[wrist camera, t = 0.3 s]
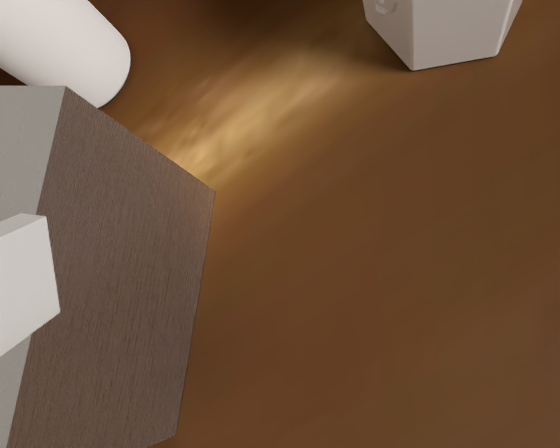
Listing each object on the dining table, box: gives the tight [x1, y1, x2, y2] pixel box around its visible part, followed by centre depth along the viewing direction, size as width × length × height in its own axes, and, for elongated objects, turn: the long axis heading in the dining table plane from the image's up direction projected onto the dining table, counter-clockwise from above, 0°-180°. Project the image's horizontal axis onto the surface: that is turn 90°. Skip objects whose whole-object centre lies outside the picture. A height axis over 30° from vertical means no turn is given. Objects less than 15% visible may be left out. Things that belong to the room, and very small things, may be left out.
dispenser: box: [0, 86, 216, 448], centre depth 24 cm, size 14×9×14 cm
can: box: [0, 0, 130, 108], centre depth 29 cm, size 6×6×12 cm
